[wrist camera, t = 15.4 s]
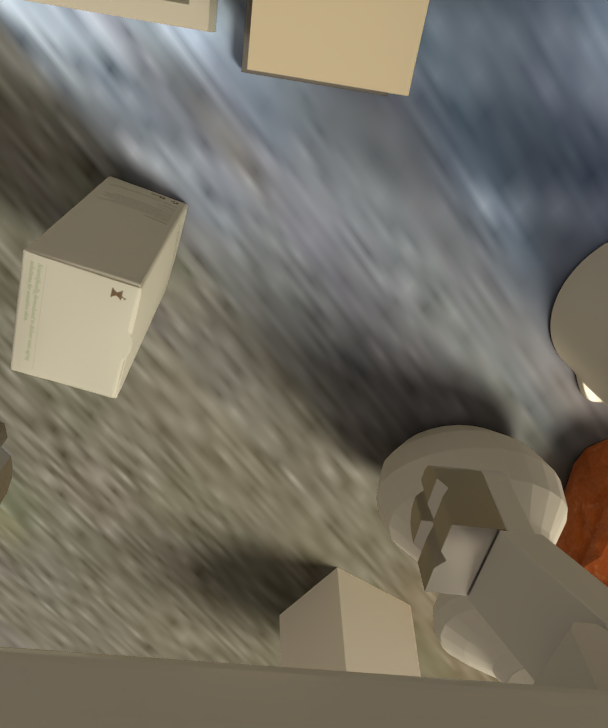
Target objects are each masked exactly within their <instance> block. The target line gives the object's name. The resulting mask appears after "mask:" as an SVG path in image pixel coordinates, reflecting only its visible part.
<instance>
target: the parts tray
mask: <svg viewBox="0 0 608 728" xmlns="http://www.w3.org/2000/svg"><path fill="white" fill-rule="evenodd" d="M26 1H32V2H38V3H44V4H50V5H56V6H61V7H67V8H73V9H79V10H85V11H91V12H97V13H102V14H108V15H114V16H120V17H126V18H132V19H137V20H143V21H149V22H155V23H161V24H167V25H173V26H178V27H184V28H190V29H196V30H202V31H208V32H216V16H217V0H26Z"/></svg>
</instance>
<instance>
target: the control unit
mask: <svg viewBox="0 0 608 728" xmlns="http://www.w3.org/2000/svg"><path fill="white" fill-rule="evenodd" d="M428 5H429V0H247V6H246V19H245V32H244V45H243V58H242V71H241V72H245V73H251V74H257V75H263V76H269V77H275V78H281V79H287V80H293V81H299V82H305V83H311V84H317V85H323V86H329V87H335V88H342V89H348V90H354V91H360V92H366V93H372V94H378V95H384V96H387V95H388V93H393V94H399V95H405V96H408V95H409V90H410V86H411V81H412V77H413V72H414V68H415V63H416V59H417V54H418V50H419V45H420V41H421V36H422V32H423V27H424V23H425V18H426V14H427V9H428Z"/></svg>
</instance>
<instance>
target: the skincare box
mask: <svg viewBox="0 0 608 728" xmlns="http://www.w3.org/2000/svg"><path fill="white" fill-rule="evenodd" d="M187 208H188V206H187V205H186V204H185V203H182V202H179V201H177V200H174V199H171V198H169V197H166V196H163V195H161V194H158V193H155V192H153V191H150V190H147V189H144V188H141V187H139V186H136V185H133V184H130V183H128V182H125V181H122V180H119V179H116V178H114V177H111V176H109V177H108V178H106V179H105V180H104V181H103V182H102V183H101V184H99V185H98V186H97V187H96V188H95V189H94V190H93V191H91V192H90V193H89V194H88V195H87V196H86V197H85V198H84V199H82V200H81V201H80V202H79V203H78V204H77V205H75V206H74V207H73V208H72V209H71V210H70V211H69V212H67V213H66V214H65V215H64V216H63V217H62V218H61V219H59V220H58V221H57V222H56V223H55V224H54V225H52V226H51V227H50V228H49V229H48V230H47V231H46V232H44V233H43V234H42V235H41V236H40V237H39V238H38V239H36V240H35V241H34V242H33V243H32V244H30V245H29V246H28V247H27V248H26V249H24V250H23V259H22V267H21V276H20V284H19V293H18V302H17V311H16V319H15V328H14V338H13V348H12V359H11V369H12V370H15V371H19V372H22V373H26V374H29V375H33V376H37V377H40V378H44V379H48V380H52V381H55V382H59V383H62V384H66V385H69V386H73V387H76V388H80V389H83V390H87V391H90V392H94V393H97V394H101V395H104V396H108V397H111V398H116V397H117V395H118V393H119V392H120V390H121V387H122V385H123V383H124V380H125V378H126V376H127V374H128V371H129V369H130V367H131V365H132V363H133V360H134V358H135V356H136V354H137V351H138V349H139V347H140V345H141V343H142V341H143V338H144V336H145V334H146V332H147V330H148V327H149V325H150V323H151V321H152V318H153V316H154V314H155V312H156V310H157V307H158V305H159V303H160V301H161V299H162V297H163V295H164V293H165V291H166V288H167V285H168V281H169V278H170V274H171V271H172V267H173V264H174V260H175V257H176V253H177V249H178V245H179V241H180V237H181V234H182V230H183V226H184V222H185V217H186V213H187Z"/></svg>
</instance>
